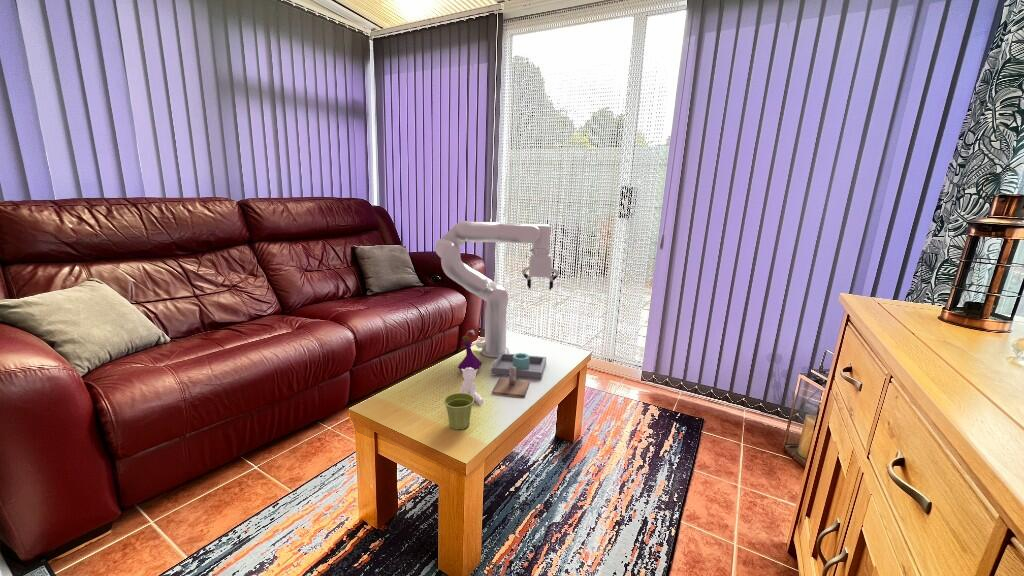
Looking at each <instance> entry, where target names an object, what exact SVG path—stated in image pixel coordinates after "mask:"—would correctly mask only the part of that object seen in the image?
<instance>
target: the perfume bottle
mask: <svg viewBox="0 0 1024 576" xmlns="http://www.w3.org/2000/svg"><path fill="white" fill-rule="evenodd" d="M469 333H471V334H472V335H473V336H474V337H475V336H476V332H475V330H474V329H471V330H468V331H467V332H466V334H465V335H463V336H462V340H461V344H462V345H463V346H464V347H465V350H466V355H465V357H464V358H463V359H462V361H461V362H460V363H459V364H458V365H457V368H458V369H459V370H460V372H461V373H462V374H463V372H462V370H461V369H465V368H469V367H471V368H473V369H474V370H477V369H478V370H477V372H478V371H479V369H480V368H481V366H482V365H483V362H482V361H481V360H480V359H479V358H478V357H477V356H476V355H475V354H474V352H473V350H472V348H471V344H472V343H473V342H472V340H471V337H470V336H469V335H468V334H469Z"/></svg>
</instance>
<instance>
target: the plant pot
mask: <svg viewBox="0 0 1024 576" xmlns="http://www.w3.org/2000/svg"><path fill="white" fill-rule="evenodd" d="M443 404H444V405H445V408H446V411H447V415H448V422H449V427H450V426H451V427H450V428H452V429H453V428H454V429H453V430H455V429H462V430H464V429H466V428H468V427H469V426H470V423H471V414H472V407H473V405H474V404H475V403H474V397H473V396H472V395H470V394H467V393H460V392H456V393H451V394H449V395H447V396H445V397H444V399H443Z"/></svg>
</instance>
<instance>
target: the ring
mask: <svg viewBox="0 0 1024 576" xmlns="http://www.w3.org/2000/svg"><path fill="white" fill-rule="evenodd" d="M513 354H514V355H513V366H514V367H516V369H524V370H529V357H530V356H531V355H529V354H528V353H523V352H519V353H513Z"/></svg>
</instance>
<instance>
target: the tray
mask: <svg viewBox="0 0 1024 576" xmlns="http://www.w3.org/2000/svg"><path fill="white" fill-rule="evenodd" d="M514 354H515V353H509V354H507V353H500V355H499V357H497V359H496V360H495V362H494V364H492V367H491V375H493V376H500V377H501V376H503V377H509V367H511V366H513V355H514ZM529 356H530V357H529V370H524V369H516V378H520V379H521V378H522V379H532V380H541V381H542V378H543V375H544V372H545V368H546V365H547V356H539V355H538V356H537V355H529Z"/></svg>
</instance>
